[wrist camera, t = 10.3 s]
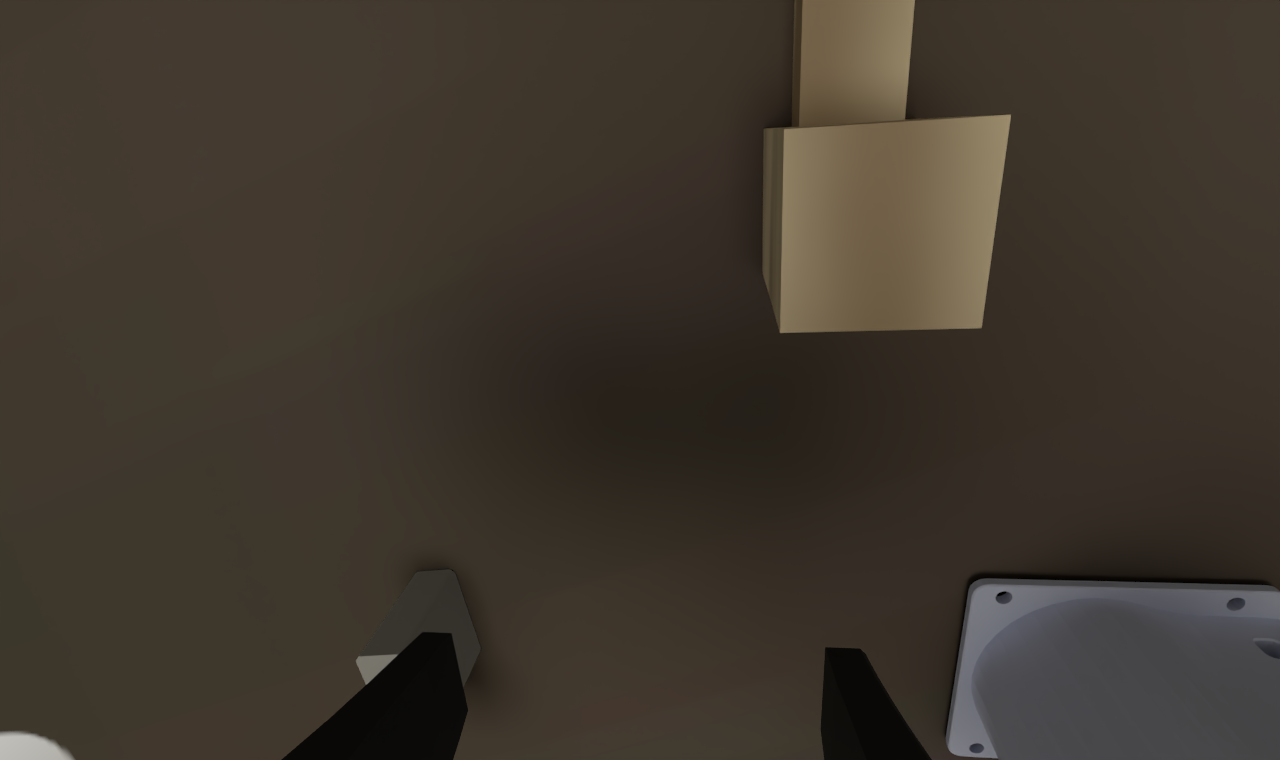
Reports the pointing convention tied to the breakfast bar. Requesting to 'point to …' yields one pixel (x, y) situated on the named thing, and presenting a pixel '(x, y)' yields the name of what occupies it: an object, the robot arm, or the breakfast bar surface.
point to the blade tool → (874, 185)
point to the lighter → (423, 623)
